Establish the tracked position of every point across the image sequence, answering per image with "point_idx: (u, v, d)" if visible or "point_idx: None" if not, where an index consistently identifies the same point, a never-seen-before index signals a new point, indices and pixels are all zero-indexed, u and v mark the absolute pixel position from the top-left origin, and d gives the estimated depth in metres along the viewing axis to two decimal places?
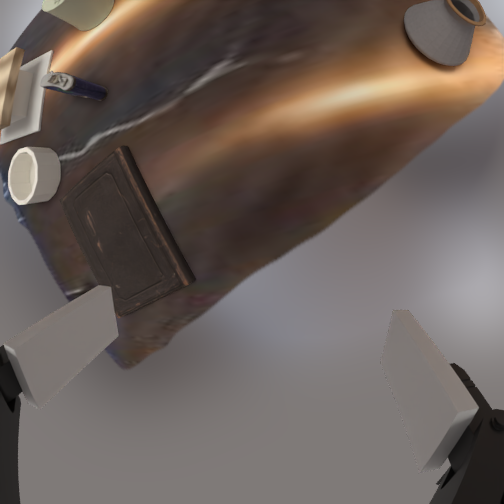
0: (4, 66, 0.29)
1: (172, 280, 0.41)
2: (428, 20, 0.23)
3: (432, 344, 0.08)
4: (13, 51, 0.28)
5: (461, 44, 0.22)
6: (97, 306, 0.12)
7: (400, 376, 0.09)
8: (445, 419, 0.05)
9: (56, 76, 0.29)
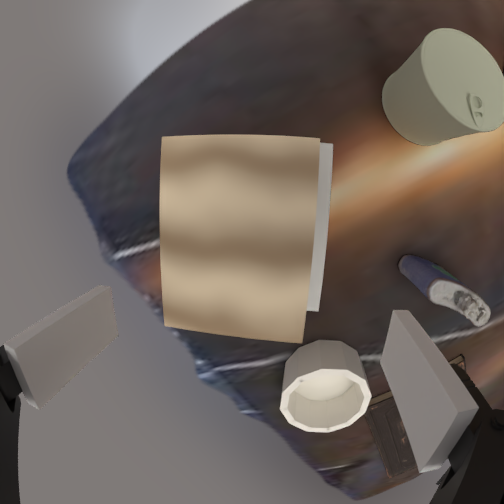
0: (274, 176, 0.20)
1: None
2: None
3: (432, 344, 0.08)
4: (309, 146, 0.19)
5: None
6: (97, 306, 0.12)
7: (400, 376, 0.09)
8: (445, 419, 0.05)
9: (475, 304, 0.20)
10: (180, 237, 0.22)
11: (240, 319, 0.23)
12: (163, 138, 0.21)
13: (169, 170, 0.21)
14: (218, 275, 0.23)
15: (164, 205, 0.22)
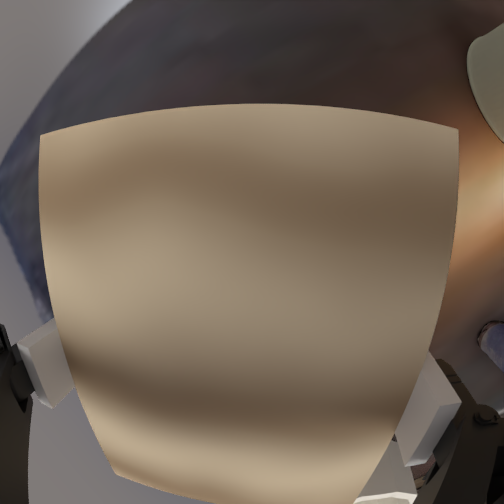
0: (336, 238, 0.06)
1: None
2: None
3: None
4: (435, 148, 0.06)
5: None
6: None
7: None
8: (428, 413, 0.06)
9: None
10: (101, 370, 0.08)
11: (243, 494, 0.09)
12: (42, 138, 0.07)
13: (54, 216, 0.07)
14: (193, 444, 0.09)
15: (58, 299, 0.08)
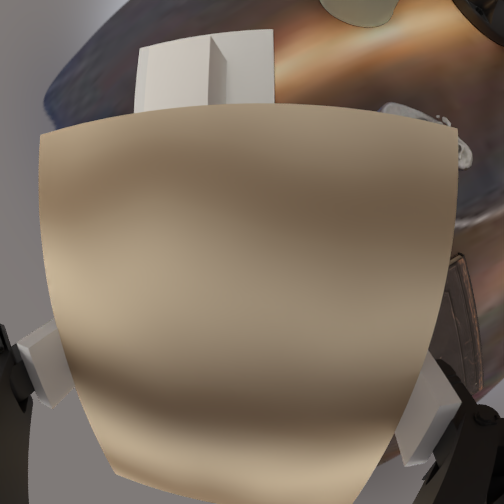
0: (336, 238, 0.06)
1: (471, 390, 0.29)
2: None
3: None
4: (434, 148, 0.06)
5: None
6: None
7: None
8: (428, 413, 0.06)
9: None
10: (100, 369, 0.09)
11: (242, 494, 0.09)
12: (42, 137, 0.07)
13: (54, 216, 0.07)
14: (192, 443, 0.09)
15: (57, 299, 0.08)
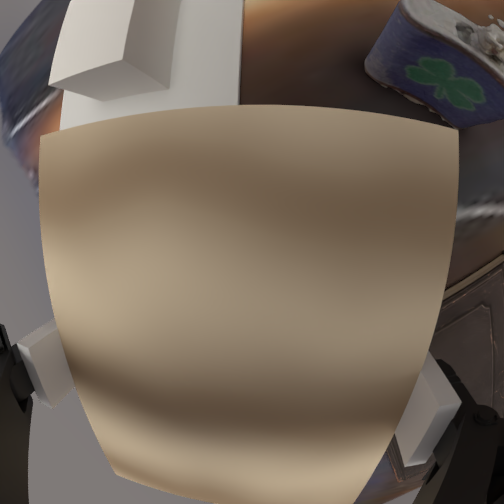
0: (336, 239, 0.06)
1: None
2: None
3: None
4: (435, 149, 0.06)
5: None
6: None
7: None
8: (428, 413, 0.06)
9: None
10: (101, 370, 0.08)
11: (243, 495, 0.09)
12: (42, 139, 0.07)
13: (54, 217, 0.07)
14: (193, 444, 0.09)
15: (58, 300, 0.08)
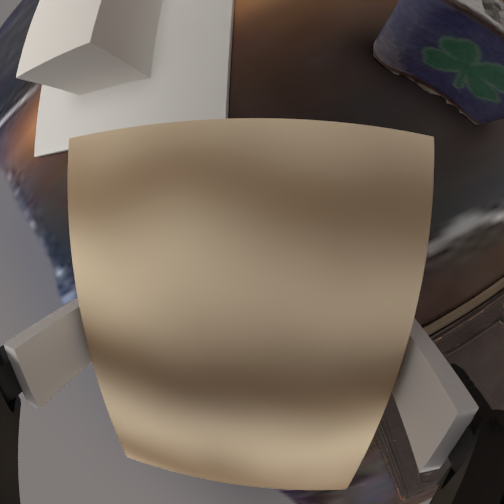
0: (329, 229, 0.08)
1: None
2: None
3: (432, 344, 0.08)
4: (413, 154, 0.07)
5: None
6: None
7: (400, 376, 0.09)
8: (445, 419, 0.05)
9: None
10: (121, 350, 0.10)
11: (248, 471, 0.11)
12: (71, 141, 0.08)
13: (83, 211, 0.09)
14: (204, 418, 0.10)
15: (83, 286, 0.10)
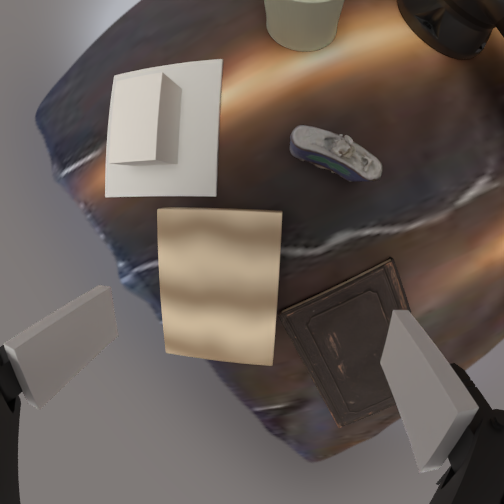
0: (246, 243, 0.27)
1: None
2: None
3: (432, 344, 0.08)
4: (273, 219, 0.26)
5: None
6: (97, 306, 0.12)
7: (400, 376, 0.09)
8: (445, 419, 0.05)
9: (351, 147, 0.23)
10: (175, 288, 0.29)
11: (224, 348, 0.30)
12: (158, 210, 0.27)
13: (165, 236, 0.28)
14: (206, 316, 0.29)
15: (162, 263, 0.28)
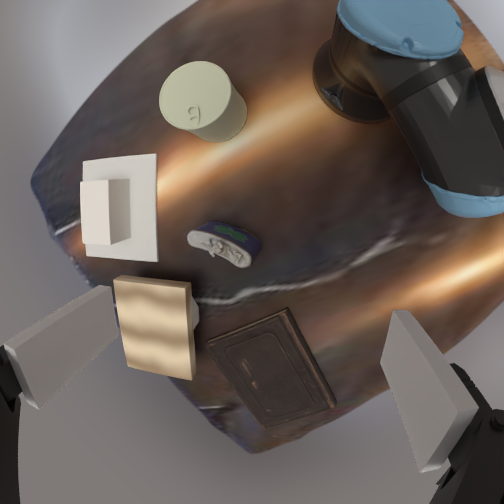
0: (166, 305, 0.40)
1: (321, 406, 0.49)
2: None
3: (432, 344, 0.08)
4: (180, 292, 0.39)
5: None
6: (97, 307, 0.12)
7: (400, 376, 0.09)
8: (445, 419, 0.05)
9: (224, 247, 0.36)
10: (129, 328, 0.42)
11: (161, 366, 0.43)
12: (114, 280, 0.41)
13: (119, 296, 0.41)
14: (148, 346, 0.42)
15: (120, 312, 0.42)
